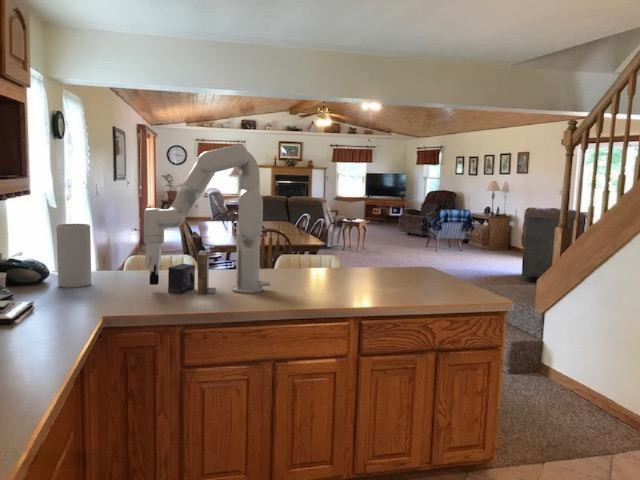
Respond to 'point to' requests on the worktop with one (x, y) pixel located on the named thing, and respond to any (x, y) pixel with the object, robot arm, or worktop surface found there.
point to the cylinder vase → (73, 255)
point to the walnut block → (201, 271)
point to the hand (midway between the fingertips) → (154, 284)
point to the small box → (181, 278)
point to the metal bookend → (207, 289)
